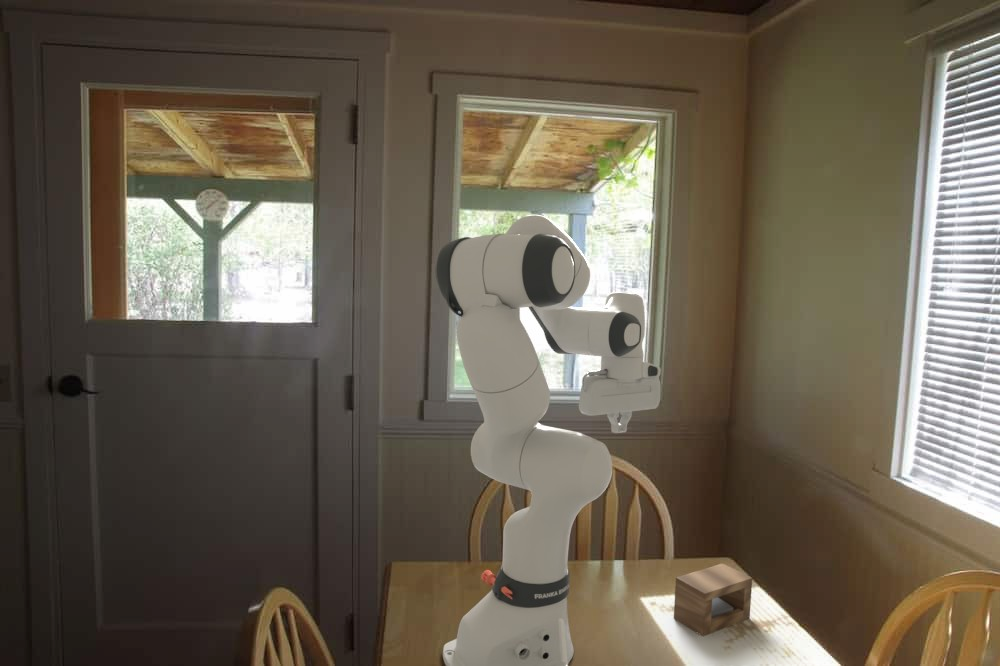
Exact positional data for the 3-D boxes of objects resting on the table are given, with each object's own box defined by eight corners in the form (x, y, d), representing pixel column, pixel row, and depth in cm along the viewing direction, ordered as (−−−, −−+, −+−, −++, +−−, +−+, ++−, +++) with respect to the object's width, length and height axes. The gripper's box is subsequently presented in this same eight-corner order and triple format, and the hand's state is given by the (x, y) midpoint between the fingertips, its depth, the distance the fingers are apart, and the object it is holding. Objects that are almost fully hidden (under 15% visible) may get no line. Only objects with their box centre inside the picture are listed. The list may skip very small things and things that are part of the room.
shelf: (702, 636, 116) (705, 593, 115) (673, 618, 122) (675, 577, 121) (749, 618, 123) (752, 577, 122) (720, 601, 129) (722, 563, 128)
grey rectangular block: (708, 628, 119) (709, 613, 119) (675, 605, 127) (676, 591, 127) (732, 622, 122) (733, 607, 121) (699, 600, 130) (700, 585, 130)
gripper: (593, 373, 129) (590, 440, 130) (666, 368, 139) (663, 430, 140) (573, 368, 134) (571, 433, 135) (645, 364, 145) (642, 424, 146)
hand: (618, 432), depth 138 cm, fingers closed
